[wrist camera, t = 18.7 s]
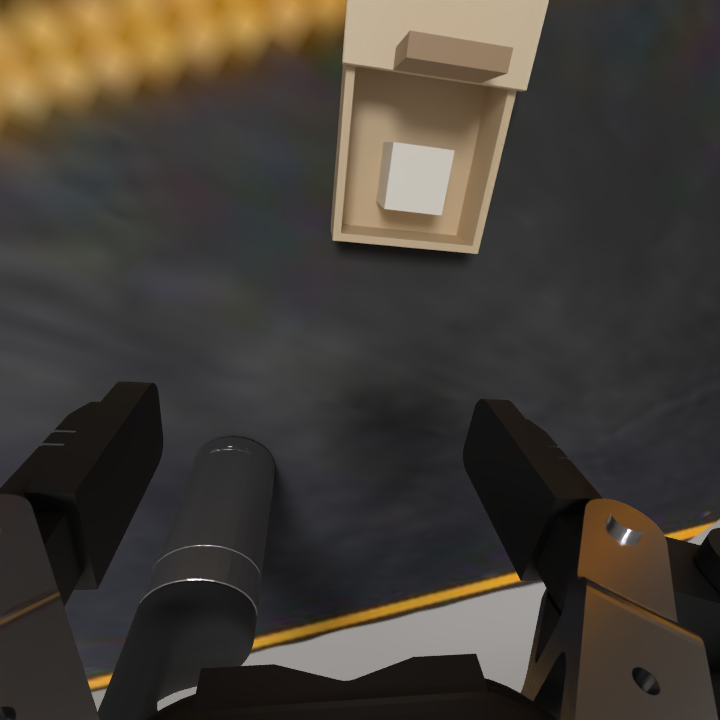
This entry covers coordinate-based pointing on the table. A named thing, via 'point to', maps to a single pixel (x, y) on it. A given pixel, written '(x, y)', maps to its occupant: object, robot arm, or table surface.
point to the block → (413, 178)
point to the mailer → (424, 128)
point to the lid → (447, 38)
